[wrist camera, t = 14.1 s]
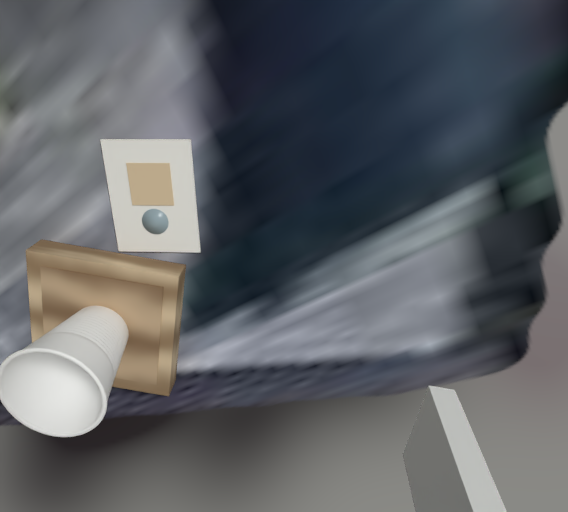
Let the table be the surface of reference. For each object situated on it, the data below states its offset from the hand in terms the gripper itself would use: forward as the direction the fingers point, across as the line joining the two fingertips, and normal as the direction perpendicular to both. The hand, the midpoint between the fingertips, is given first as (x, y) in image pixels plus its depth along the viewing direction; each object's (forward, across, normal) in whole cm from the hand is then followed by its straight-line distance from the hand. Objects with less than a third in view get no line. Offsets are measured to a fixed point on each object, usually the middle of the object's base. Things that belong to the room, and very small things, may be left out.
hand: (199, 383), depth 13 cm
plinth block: (+35, -16, -22) cm, 44 cm away
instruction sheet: (+35, -12, -7) cm, 37 cm away
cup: (+32, -16, -22) cm, 42 cm away
